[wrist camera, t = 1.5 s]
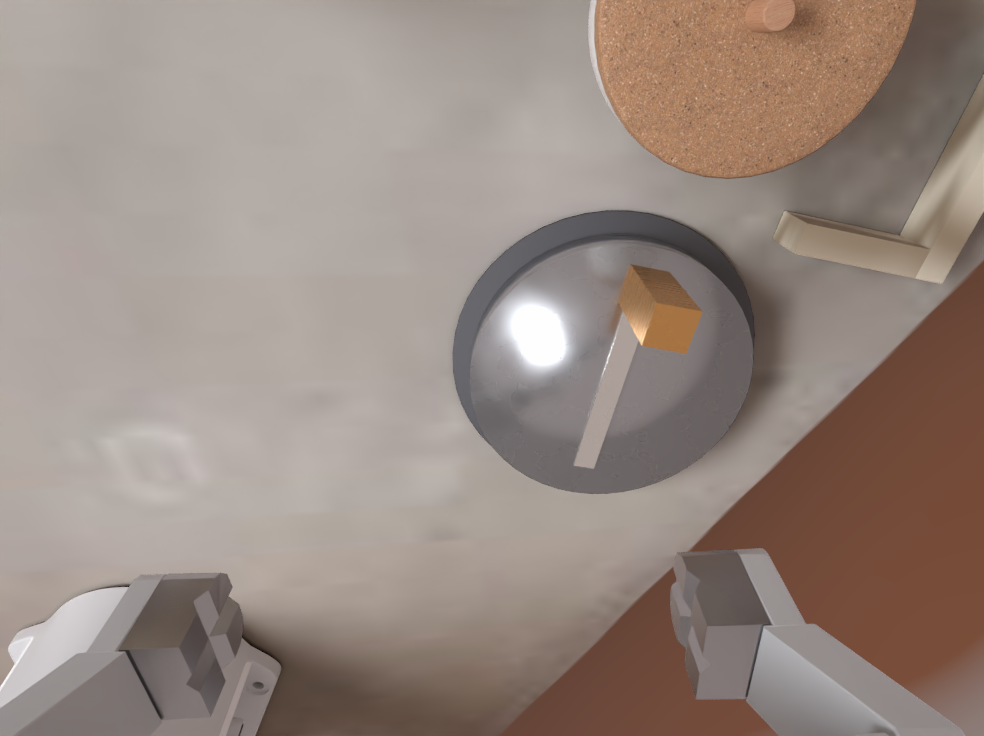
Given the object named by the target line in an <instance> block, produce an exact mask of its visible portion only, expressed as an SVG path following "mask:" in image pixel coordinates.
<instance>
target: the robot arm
mask: <svg viewBox="0 0 984 736" xmlns="http://www.w3.org/2000/svg"><path fill="white" fill-rule="evenodd" d="M673 569H674V572H675V575H676V578H677V581H676V582H675V583H674V584H673V585H672V586H671V598H670V604H671V616H672V621H673V626H674V629H675V633H676V637H677V640H678V641H679V642H680V643H681V644H682V645H683V646H684V647H685V648H687V650H686V657H685V666H686V669H687V673H688V676H689V679H690V682H691V685H692V689H693V692H694V695H695V698H696V699H747V702H748V703H749V705H750V706H751V707H752V708H753V709H754V710H755V711H756V712H757V713H758V714H759V715H760V716H761V717H762V718H763V719H764V720H765V721H766V723H768V725H769V726H770V727H771V728H772V729H773V730H774V731H775V732H776V733H777V734H778V735H779V736H965V735H964V733H963V732H962V730H961V729H960V728H959V727H958V726H956V725H955V724H953V723H952V722H951V721H949V720H948V719H946V718H945V717H944V716H942V715H941V714H939V713H938V712H937V711H935V710H934V709H932V708H931V707H930V706H928V705H927V704H925V703H924V702H923V701H921V700H920V699H919V698H917V697H916V696H914V695H913V694H911V693H910V692H909V691H907V690H906V689H905V688H903V687H902V686H900V685H899V684H897V683H896V682H895V681H893V680H892V679H891V678H889V677H888V676H887V675H885V674H884V673H882V672H881V671H880V670H878V669H877V668H875V667H874V666H873V665H871V664H870V663H868V662H867V661H866V660H864V659H863V658H861V657H860V656H858V655H857V654H856V653H854V652H853V651H852V650H850V649H849V648H848V647H846V646H844V645H843V644H842V643H841V642H839V641H838V640H836V639H835V638H834V637H832V636H831V635H829V634H828V633H826V632H825V631H824V630H822V629H821V628H820V627H818V626H817V625H816V624H806V623H805V621H804V620H803V618H802V616H801V614H800V612H799V610H798V608H797V607H796V605H795V603H794V601H793V599H792V597H791V595H790V594H789V592H788V590H787V588H786V586H785V584H784V583H783V581H782V579H781V577H780V575H779V573H778V571H777V569H776V568H775V566H774V564H773V562H772V560H771V558H770V557H769V555H768V553H767V552H766V551H765V550H764V549H762V548H759V549H741V550H733V551H732V550H719V551H702V552H701V551H700V552H681V553H677V554H676V556H675V559H674V567H673ZM231 589H232V584H231V582H230V580H229V577H228V575H227V574H224V573H186V574H156V575H141V576H139V577H138V578H136V579H135V580H134V581H133V582H132V583H131V585H130V586H129V587H115V588H106V589H99V590H95V591H91V592H88V593H85V594H82V595H80V596H77V597H75V598H73V599H72V600H70V601H68V602H67V603H65V604H64V605H63V606H62V607H60V608H59V609H58V610H57V611H56V613H55V614H54V615H53V616H52V617H51V618H49V619H48V620H47V621H45V622H44V623H41V624H37V625H34V626H31V627H28V628H26V629H23V630H21V631H20V632H18V633H17V634H16V635H15V637H14V639H13V640H12V642H11V643H10V645H9V647H8V651H9V654H10V656H11V658H12V660H13V661H14V663H15V665H14V666H13V668H12V669H11V671H10V673H9V674H8V676H7V677H6V679H5V680H4V682H3V684H2V685H1V687H0V736H256V733H257V731H258V728H259V726H260V723H261V721H262V718H263V716H264V713H265V711H266V708H267V706H268V703H269V701H270V698H271V696H272V693H273V690H274V688H275V685H276V683H277V680H278V678H279V675H280V673H281V665H280V664H279V663H278V662H277V661H276V660H275V659H273V658H272V657H270V656H269V655H267V654H265V653H263V652H262V651H260V650H258V649H256V648H254V647H252V646H250V645H249V644H248V643H247V642H246V641H245V640H244V639H243V638H242V632H243V617H242V612H241V609H240V606H239V604H238V603H237V602H235V601H234V600H232V599H231V598H230V597H228V596H229V594H230V592H231Z"/></svg>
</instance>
